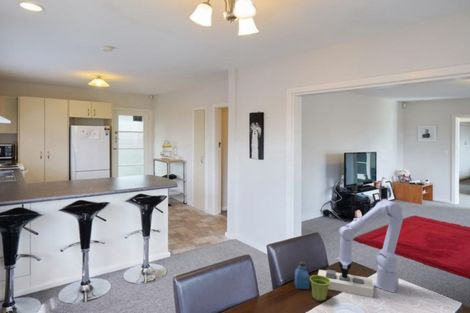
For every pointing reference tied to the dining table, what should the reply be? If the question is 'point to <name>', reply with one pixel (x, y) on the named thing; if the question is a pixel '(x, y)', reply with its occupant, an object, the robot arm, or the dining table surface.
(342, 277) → the button middle
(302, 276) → the perfume bottle
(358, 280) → the button
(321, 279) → the plant pot
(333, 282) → the button panel
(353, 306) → the dining table surface
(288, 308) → the dining table surface
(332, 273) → the button
